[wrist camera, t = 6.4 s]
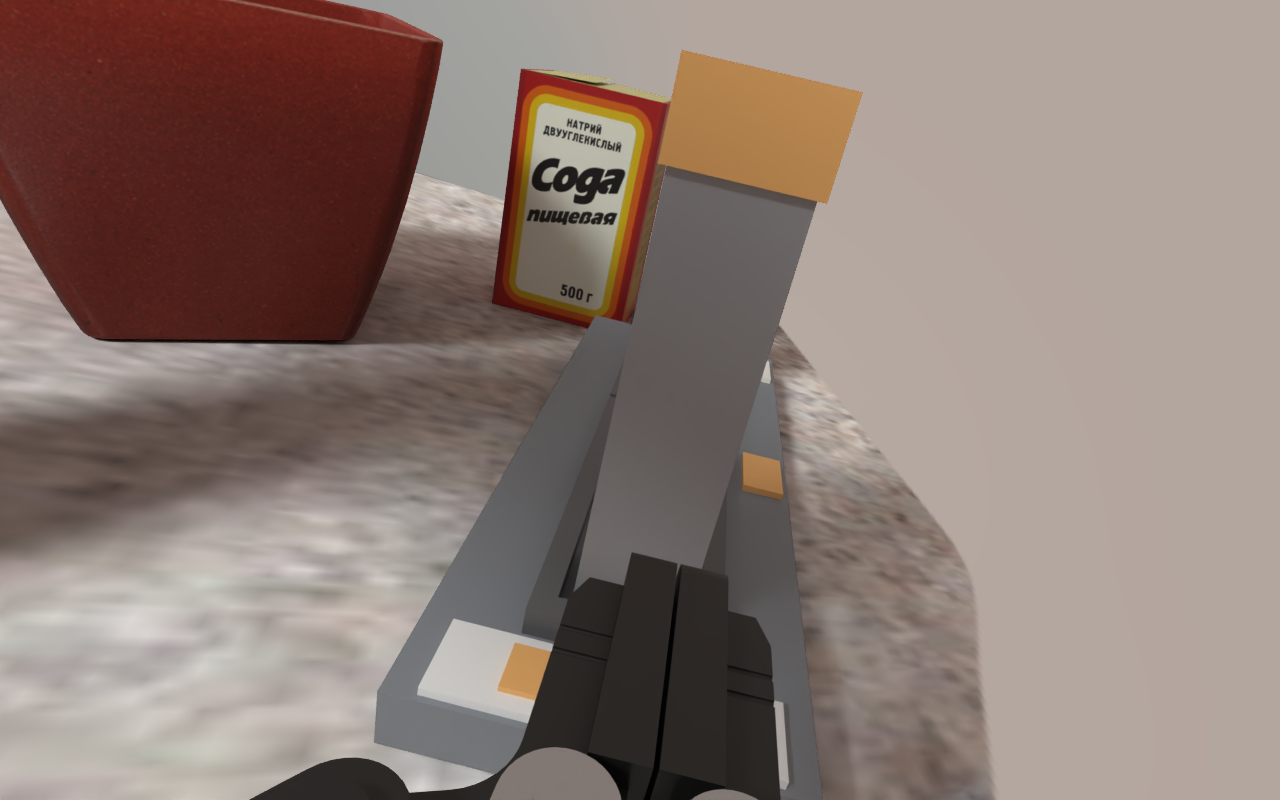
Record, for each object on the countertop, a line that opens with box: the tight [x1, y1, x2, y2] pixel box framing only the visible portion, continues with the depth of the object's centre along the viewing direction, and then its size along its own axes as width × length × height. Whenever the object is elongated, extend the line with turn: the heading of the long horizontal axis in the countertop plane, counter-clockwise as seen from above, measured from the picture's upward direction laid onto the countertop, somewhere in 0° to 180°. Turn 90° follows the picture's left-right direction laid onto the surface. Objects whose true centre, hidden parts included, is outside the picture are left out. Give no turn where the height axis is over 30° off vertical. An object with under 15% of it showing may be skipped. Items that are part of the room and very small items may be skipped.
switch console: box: [374, 315, 823, 800], centre depth 33 cm, size 12×32×3 cm, turn 173°
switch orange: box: [574, 50, 862, 591], centre depth 20 cm, size 4×3×16 cm
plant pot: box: [0, 0, 443, 340], centre depth 39 cm, size 19×19×17 cm
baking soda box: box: [492, 69, 671, 328], centre depth 50 cm, size 10×6×16 cm
